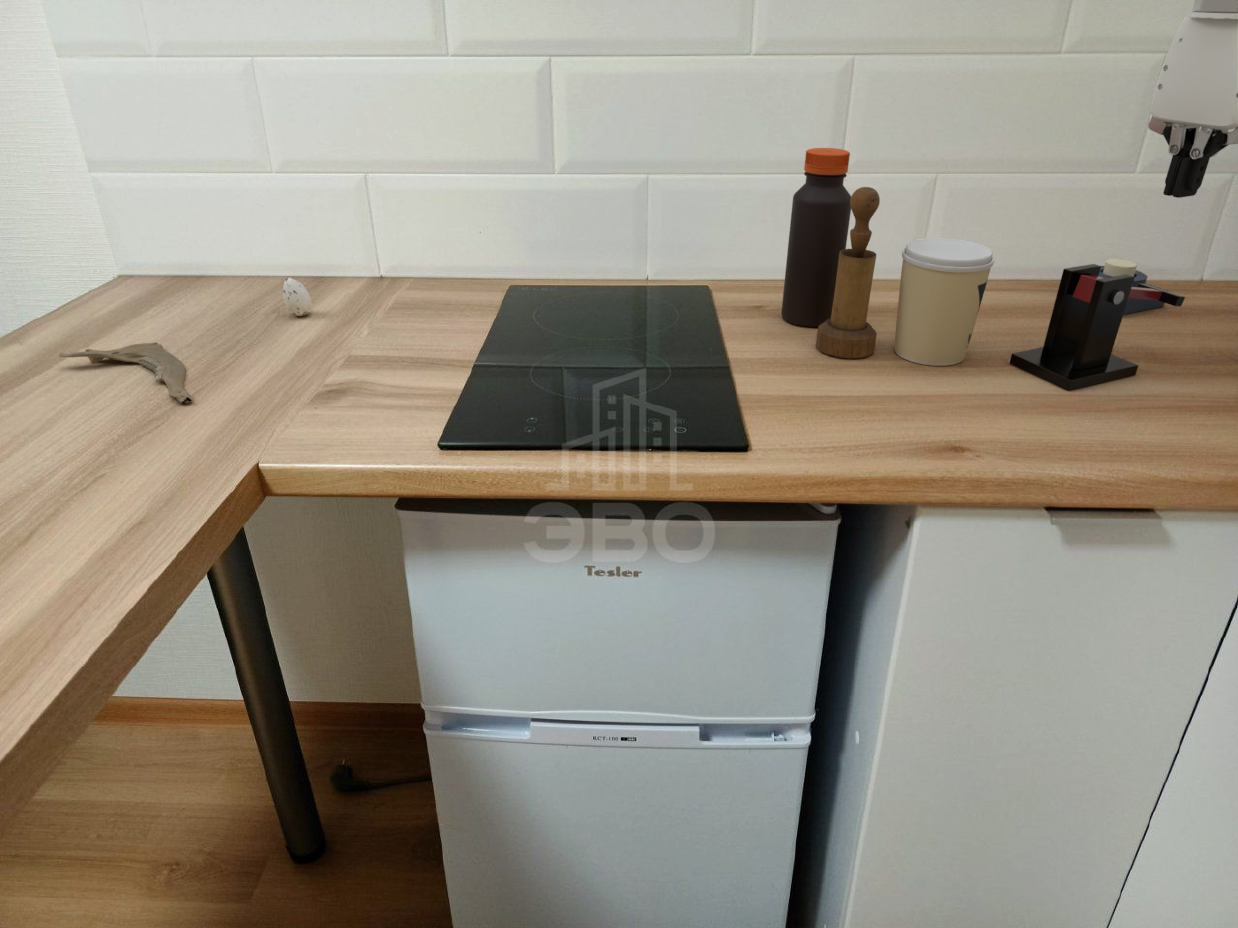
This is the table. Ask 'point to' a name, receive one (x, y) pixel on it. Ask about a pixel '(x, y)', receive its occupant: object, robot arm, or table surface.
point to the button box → (1137, 304)
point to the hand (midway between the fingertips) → (1179, 194)
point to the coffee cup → (940, 299)
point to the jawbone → (146, 364)
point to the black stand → (1082, 334)
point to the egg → (296, 297)
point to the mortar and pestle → (853, 288)
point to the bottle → (816, 238)
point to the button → (1119, 267)
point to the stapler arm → (1139, 292)
